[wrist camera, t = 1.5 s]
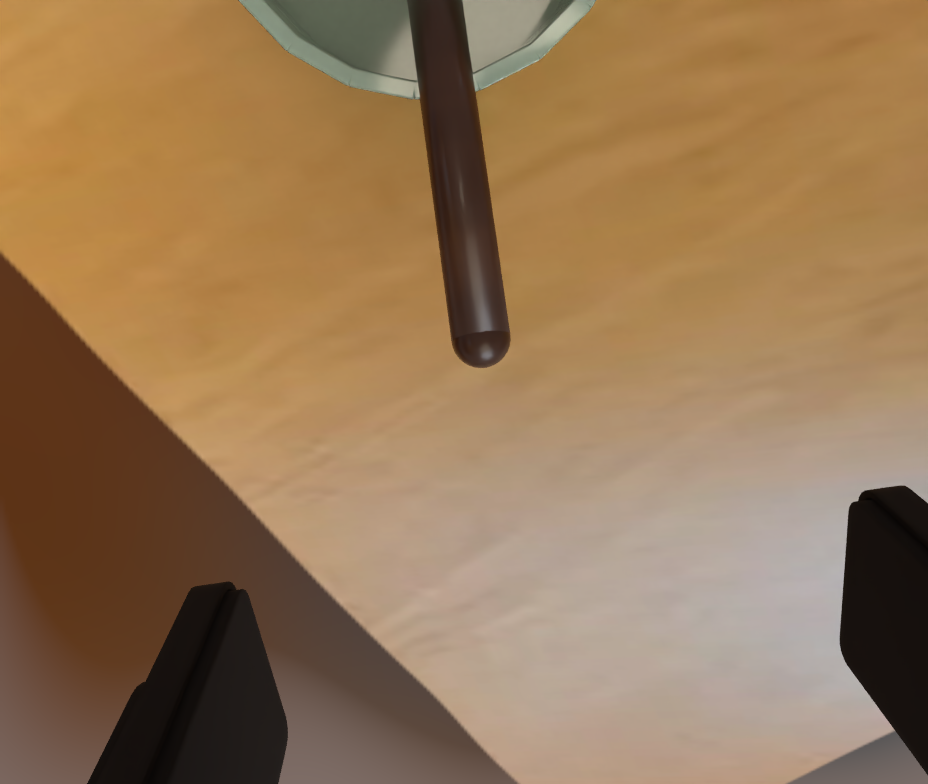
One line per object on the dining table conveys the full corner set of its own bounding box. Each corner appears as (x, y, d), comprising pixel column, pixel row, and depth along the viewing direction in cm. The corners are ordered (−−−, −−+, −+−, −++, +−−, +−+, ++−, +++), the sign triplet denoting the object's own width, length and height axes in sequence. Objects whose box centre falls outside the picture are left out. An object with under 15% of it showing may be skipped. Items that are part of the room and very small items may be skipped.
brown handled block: (335, -309, 25) (264, -609, 14) (448, -325, 25) (459, -638, 14) (426, 290, 32) (423, 384, 22) (511, 278, 32) (549, 367, 22)
